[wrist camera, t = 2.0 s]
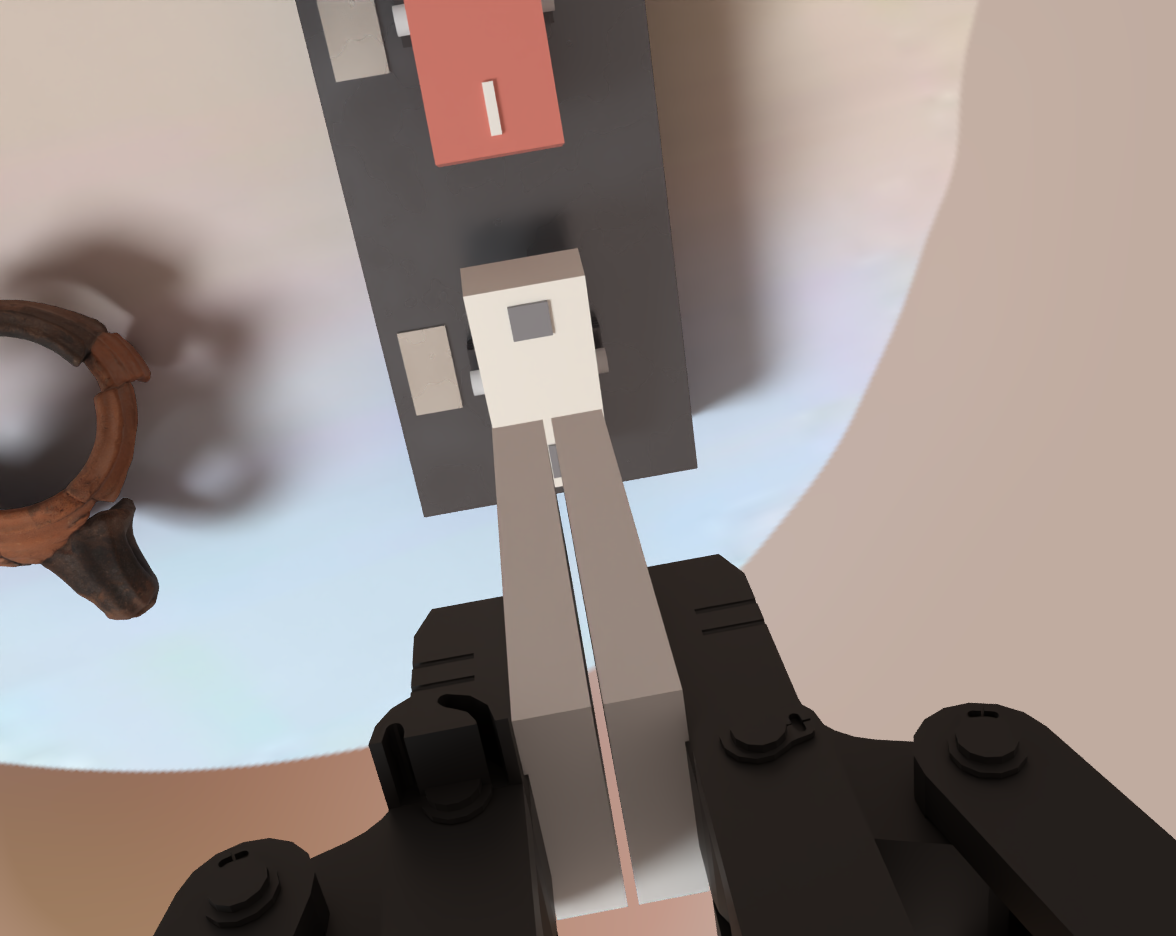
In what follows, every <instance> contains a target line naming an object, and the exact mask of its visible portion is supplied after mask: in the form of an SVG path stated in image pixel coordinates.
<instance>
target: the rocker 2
mask: <svg viewBox="0 0 1176 936" xmlns="http://www.w3.org/2000/svg"><path fill="white" fill-rule="evenodd" d="M460 272H461V282H462V293H463V299H464V304H465V308H466V313H467V317H468V322H469V326H470V330H471V335H472V339H473V344H474V348H475V353H476V357H477V361H478V366H479V370H475V371H470V378H471V384H472V389H473V393H474V396H477V395H482V394H485V397H486V401H487V406H488V410H489V415H490V419H491V424H492V428H498V427H503V426H509V425H515V424H520V423H526V422H531V421H537V420H543V424H544V429H545V435H546V440H547V446H548V451H549V457H550V462H551V468H552V473H553V479H554V484H555V487H560V486H563V483H562V477H561V472H560V466H559V461H558V455H557V449H556V444H555V438H554V433H553V427H552V422H551V418H554V417H560V416H565V415H571V414H576V413H582V412H588V411H593V410H599V409H602V412H603V404H602V397H601V390H600V382H599V375H598V374H600V373H606V372H609V368H608V361H607V356H606V351H605V348H599V349H595V346H594V338H593V331H592V324H591V316H590V309H589V302H588V294H587V287H586V280H585V274H584V270H583V266H582V262H581V258H580V255H579V251H578V248H575V249H569V250H563V251H557V252H552V253H546V254H540V255H535V256H529V257H523V258H517V259H512V260H506V261H500V262H494V263H489V264H483V265H477V266H471V267H466V268H460ZM603 416H604V412H603Z"/></svg>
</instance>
